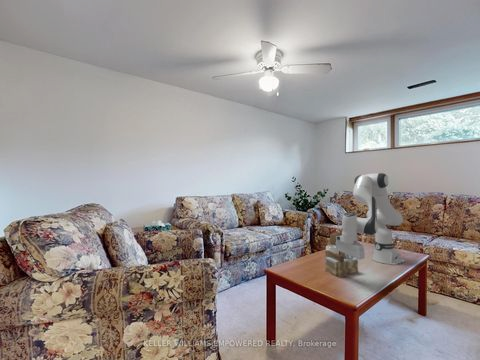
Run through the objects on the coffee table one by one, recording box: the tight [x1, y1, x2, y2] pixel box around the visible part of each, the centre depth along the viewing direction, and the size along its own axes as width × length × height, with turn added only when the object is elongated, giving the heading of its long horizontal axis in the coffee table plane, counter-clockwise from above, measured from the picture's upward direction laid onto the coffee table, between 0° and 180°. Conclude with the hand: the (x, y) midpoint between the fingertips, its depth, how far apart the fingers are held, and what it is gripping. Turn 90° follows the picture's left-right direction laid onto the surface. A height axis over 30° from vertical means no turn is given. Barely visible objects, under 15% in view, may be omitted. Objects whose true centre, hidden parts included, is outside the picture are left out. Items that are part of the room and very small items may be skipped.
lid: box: [325, 252, 359, 264], centre depth 159 cm, size 18×10×6 cm, turn 109°
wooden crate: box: [324, 255, 359, 278], centre depth 159 cm, size 18×13×10 cm
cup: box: [325, 244, 339, 254], centre depth 176 cm, size 9×9×12 cm
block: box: [328, 231, 342, 255], centre depth 186 cm, size 11×8×20 cm
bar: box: [325, 249, 344, 262], centre depth 158 cm, size 2×15×3 cm, turn 19°
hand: (349, 261), depth 146 cm, fingers closed
